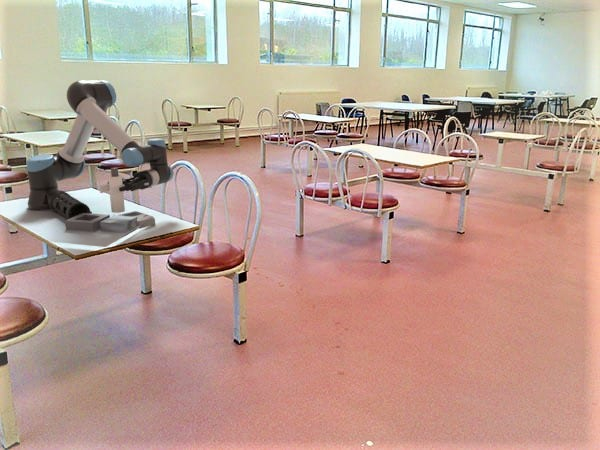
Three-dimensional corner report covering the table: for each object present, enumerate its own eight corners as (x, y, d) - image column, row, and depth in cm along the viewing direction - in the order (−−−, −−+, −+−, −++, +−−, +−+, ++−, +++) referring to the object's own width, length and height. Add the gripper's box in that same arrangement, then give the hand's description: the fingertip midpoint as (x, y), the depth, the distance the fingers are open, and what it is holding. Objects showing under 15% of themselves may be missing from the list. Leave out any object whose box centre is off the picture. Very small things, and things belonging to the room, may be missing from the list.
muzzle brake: (92, 224, 219) (66, 224, 212) (69, 210, 239) (45, 209, 232) (94, 202, 218) (68, 202, 211) (70, 190, 238) (46, 188, 231)
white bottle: (115, 209, 207) (112, 167, 203) (127, 209, 206) (123, 167, 202) (108, 212, 203) (104, 169, 198) (120, 213, 202) (116, 169, 197)
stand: (115, 226, 213) (114, 215, 211) (137, 228, 211) (136, 217, 209) (101, 234, 203) (100, 221, 202) (124, 236, 201) (123, 223, 200)
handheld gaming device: (138, 229, 211) (138, 220, 210) (118, 222, 219) (117, 214, 218) (157, 225, 217) (156, 216, 216) (136, 218, 226) (135, 210, 225)
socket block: (84, 224, 216) (83, 212, 214) (110, 226, 213) (109, 214, 212) (66, 232, 204) (64, 220, 203) (93, 235, 202) (92, 223, 200)
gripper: (164, 189, 216) (126, 202, 195) (129, 185, 222) (89, 197, 201) (162, 172, 214) (124, 182, 193) (127, 168, 220) (86, 178, 199)
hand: (106, 190), depth 197 cm, fingers closed on white bottle, 5 cm apart
